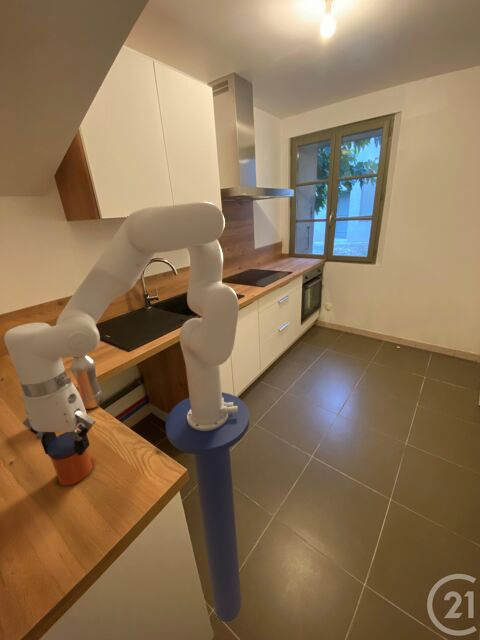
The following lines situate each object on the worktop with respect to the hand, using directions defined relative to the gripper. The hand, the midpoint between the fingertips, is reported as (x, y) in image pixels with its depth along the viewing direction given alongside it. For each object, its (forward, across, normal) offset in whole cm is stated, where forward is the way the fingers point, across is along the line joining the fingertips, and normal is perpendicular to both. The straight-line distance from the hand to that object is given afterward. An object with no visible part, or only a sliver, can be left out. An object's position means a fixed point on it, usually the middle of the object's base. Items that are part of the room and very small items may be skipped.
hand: (68, 449), depth 59 cm
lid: (-2, 0, 0) cm, 2 cm away
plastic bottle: (+7, +12, -25) cm, 28 cm away
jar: (+7, 0, 0) cm, 7 cm away
